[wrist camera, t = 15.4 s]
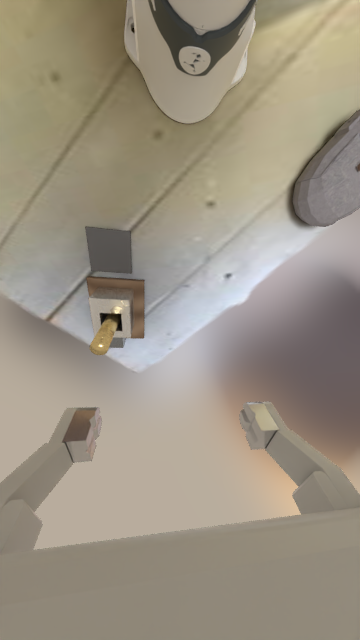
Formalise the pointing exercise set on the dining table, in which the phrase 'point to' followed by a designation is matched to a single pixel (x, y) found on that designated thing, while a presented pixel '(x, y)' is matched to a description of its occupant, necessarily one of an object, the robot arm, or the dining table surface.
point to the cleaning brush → (331, 179)
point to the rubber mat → (109, 250)
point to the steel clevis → (113, 311)
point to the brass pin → (105, 334)
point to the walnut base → (125, 284)
